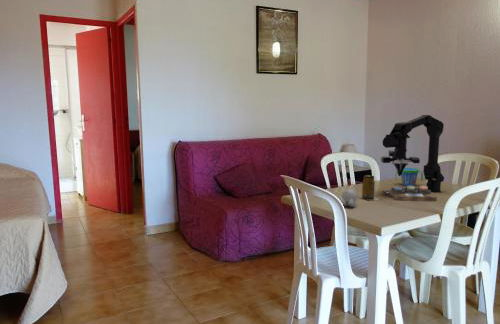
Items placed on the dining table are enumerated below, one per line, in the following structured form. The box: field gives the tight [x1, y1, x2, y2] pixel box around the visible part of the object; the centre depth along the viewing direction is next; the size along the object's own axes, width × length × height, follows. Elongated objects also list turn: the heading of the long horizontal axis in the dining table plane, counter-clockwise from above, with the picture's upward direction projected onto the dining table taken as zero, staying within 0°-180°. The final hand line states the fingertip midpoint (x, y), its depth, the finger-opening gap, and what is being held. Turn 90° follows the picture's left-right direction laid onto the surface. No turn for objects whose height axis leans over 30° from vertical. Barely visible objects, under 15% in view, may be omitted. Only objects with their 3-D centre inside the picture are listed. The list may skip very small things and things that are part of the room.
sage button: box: [406, 185, 416, 190], centre depth 212 cm, size 4×4×2 cm
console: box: [388, 187, 438, 202], centre depth 209 cm, size 20×14×4 cm
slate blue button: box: [393, 186, 403, 190], centre depth 212 cm, size 4×4×2 cm
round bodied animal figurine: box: [340, 188, 359, 208], centre depth 192 cm, size 7×12×8 cm, turn 145°
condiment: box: [358, 174, 379, 201], centre depth 207 cm, size 7×8×12 cm
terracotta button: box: [418, 185, 428, 190], centre depth 211 cm, size 4×4×2 cm
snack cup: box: [395, 167, 424, 187], centre depth 241 cm, size 16×10×10 cm
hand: (399, 175), depth 212 cm, fingers closed
